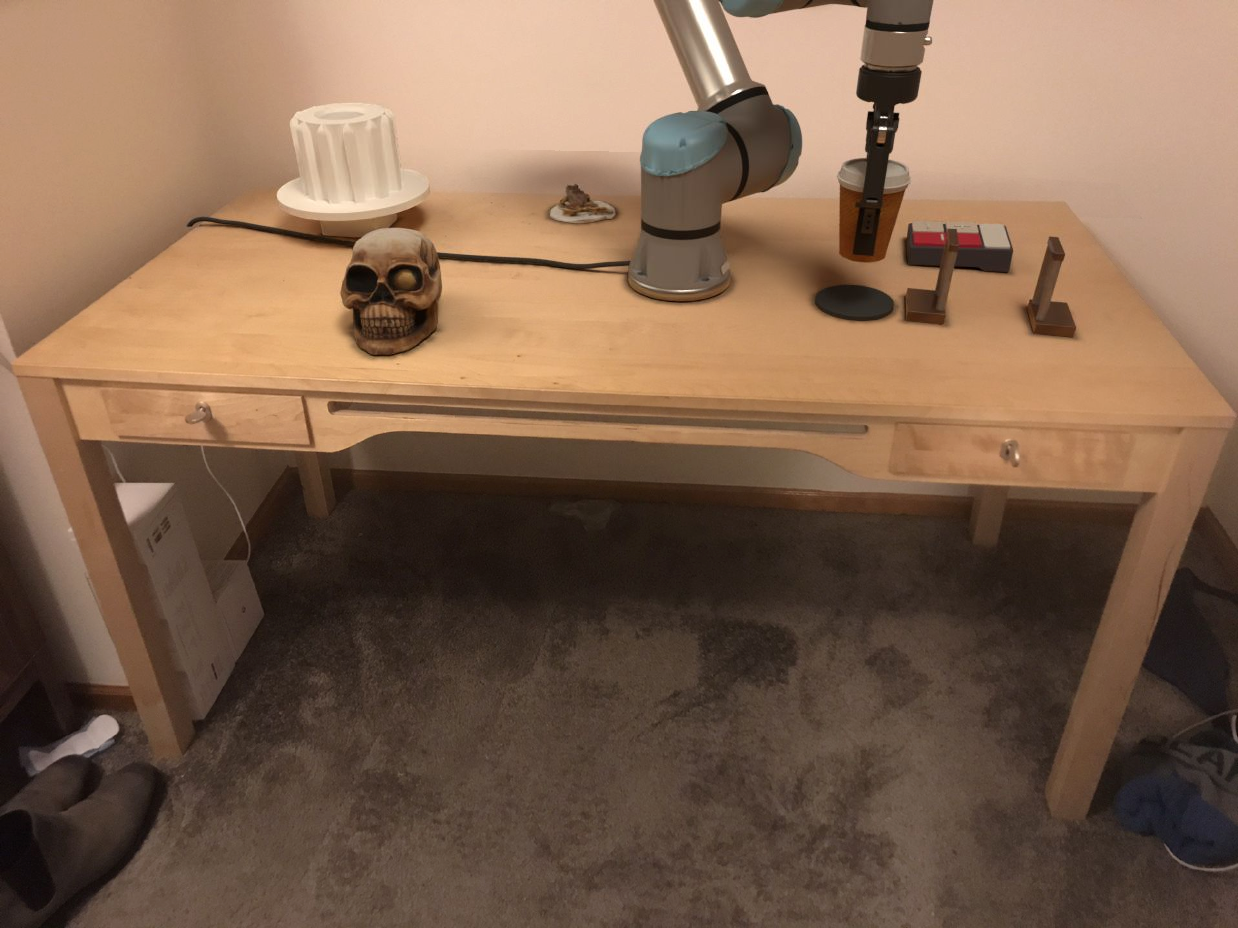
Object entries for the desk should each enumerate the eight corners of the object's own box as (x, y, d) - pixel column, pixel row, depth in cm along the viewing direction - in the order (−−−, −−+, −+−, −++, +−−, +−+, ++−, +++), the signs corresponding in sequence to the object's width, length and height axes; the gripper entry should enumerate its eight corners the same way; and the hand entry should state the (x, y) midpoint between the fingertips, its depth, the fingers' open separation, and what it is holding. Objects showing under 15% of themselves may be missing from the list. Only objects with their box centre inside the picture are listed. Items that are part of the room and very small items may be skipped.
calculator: (908, 218, 147) (1006, 220, 144) (905, 243, 150) (1001, 246, 146) (910, 242, 138) (1014, 245, 135) (907, 268, 141) (1009, 272, 138)
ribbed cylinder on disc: (404, 258, 144) (386, 137, 133) (258, 250, 147) (229, 130, 136) (452, 206, 164) (440, 97, 153) (323, 200, 168) (302, 92, 157)
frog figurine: (538, 207, 164) (536, 186, 161) (598, 198, 168) (597, 177, 165) (561, 227, 155) (560, 205, 153) (624, 217, 159) (624, 195, 157)
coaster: (812, 316, 126) (812, 312, 125) (817, 285, 135) (818, 281, 134) (893, 324, 124) (894, 320, 123) (893, 292, 132) (894, 288, 132)
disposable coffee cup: (825, 264, 122) (836, 175, 115) (828, 239, 130) (839, 155, 123) (897, 270, 120) (914, 180, 113) (897, 245, 128) (912, 159, 121)
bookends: (906, 320, 124) (920, 244, 118) (905, 297, 131) (919, 223, 124) (1073, 337, 120) (1097, 259, 114) (1064, 312, 126) (1087, 237, 120)
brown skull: (375, 360, 115) (355, 257, 109) (325, 326, 128) (305, 232, 121) (481, 330, 123) (469, 233, 117) (425, 301, 136) (411, 212, 129)
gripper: (924, 85, 102) (891, 274, 115) (920, 50, 118) (892, 218, 131) (857, 82, 103) (831, 269, 116) (862, 48, 120) (839, 215, 133)
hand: (863, 242), depth 124 cm, fingers closed on disposable coffee cup, 8 cm apart
